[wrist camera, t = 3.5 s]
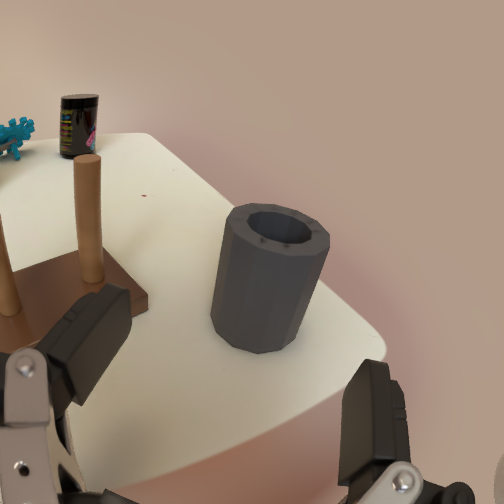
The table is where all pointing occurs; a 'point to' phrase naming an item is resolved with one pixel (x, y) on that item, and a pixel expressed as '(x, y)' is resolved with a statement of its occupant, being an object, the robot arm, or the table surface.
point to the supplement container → (78, 125)
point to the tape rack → (61, 271)
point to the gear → (15, 135)
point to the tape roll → (266, 275)
